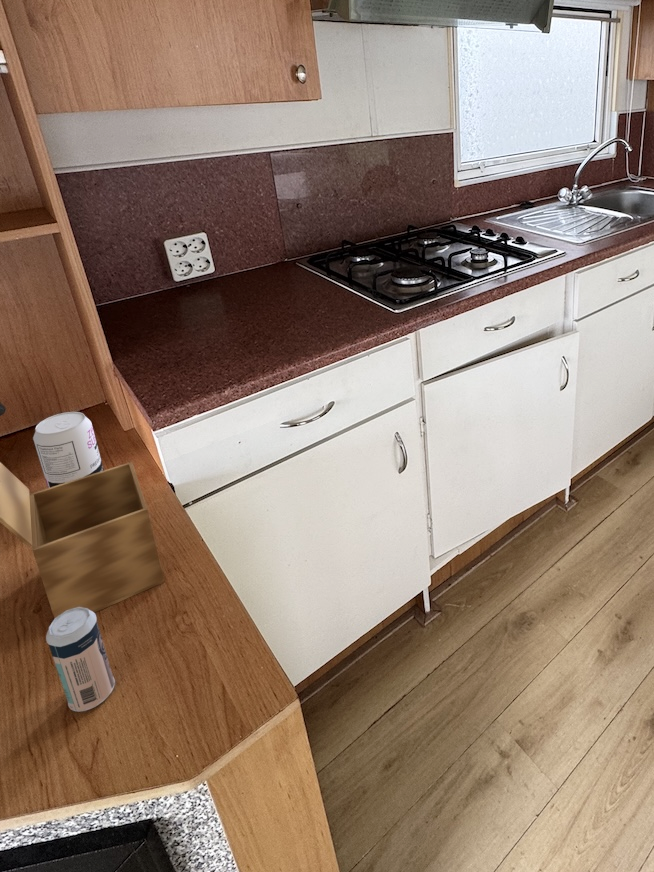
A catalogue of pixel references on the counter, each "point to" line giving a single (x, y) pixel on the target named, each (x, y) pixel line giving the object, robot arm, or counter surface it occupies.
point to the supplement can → (67, 448)
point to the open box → (94, 540)
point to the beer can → (80, 658)
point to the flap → (15, 506)
